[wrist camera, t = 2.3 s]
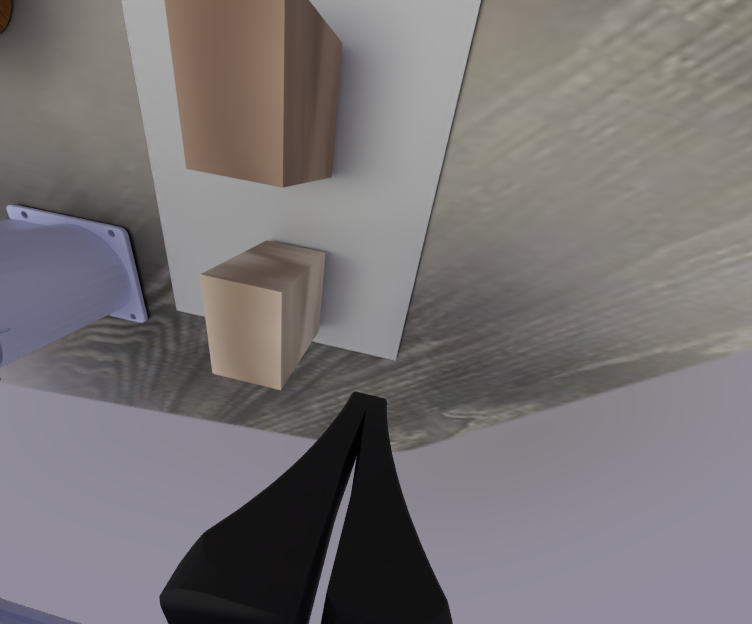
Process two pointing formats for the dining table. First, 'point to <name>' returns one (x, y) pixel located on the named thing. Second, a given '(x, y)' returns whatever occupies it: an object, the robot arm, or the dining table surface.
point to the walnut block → (255, 88)
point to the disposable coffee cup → (4, 13)
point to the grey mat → (349, 171)
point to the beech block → (263, 311)
